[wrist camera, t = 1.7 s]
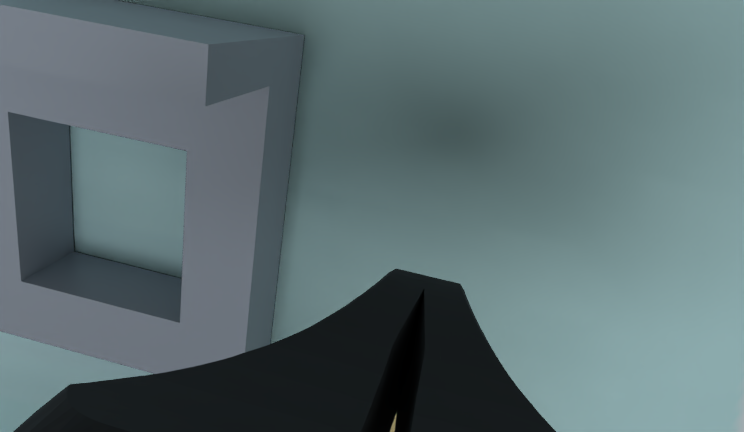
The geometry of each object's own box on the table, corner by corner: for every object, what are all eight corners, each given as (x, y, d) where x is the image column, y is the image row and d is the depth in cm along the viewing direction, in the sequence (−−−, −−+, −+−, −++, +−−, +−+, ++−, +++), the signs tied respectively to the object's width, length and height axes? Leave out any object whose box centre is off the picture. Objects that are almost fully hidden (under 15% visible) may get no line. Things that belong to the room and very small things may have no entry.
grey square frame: (269, 354, 20) (186, 481, 15) (24, 289, 22) (-137, 384, 16) (304, 34, 16) (208, 44, 11) (0, -22, 17) (-226, -39, 12)
